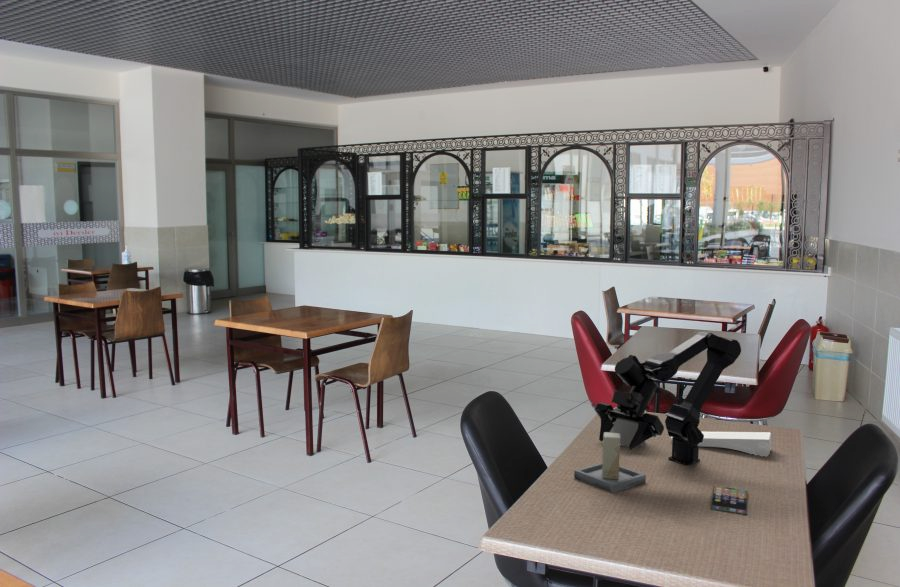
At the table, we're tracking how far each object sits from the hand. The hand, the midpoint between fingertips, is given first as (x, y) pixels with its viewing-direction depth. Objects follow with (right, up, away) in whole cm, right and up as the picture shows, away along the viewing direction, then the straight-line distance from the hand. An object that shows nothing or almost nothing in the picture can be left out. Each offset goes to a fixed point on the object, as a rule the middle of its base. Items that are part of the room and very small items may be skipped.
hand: (614, 444), depth 189 cm
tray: (-1, -9, 0) cm, 9 cm away
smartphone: (+25, -12, -13) cm, 31 cm away
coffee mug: (+10, -6, +34) cm, 36 cm away
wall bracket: (+39, -8, +31) cm, 50 cm away
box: (-1, -8, 0) cm, 8 cm away
